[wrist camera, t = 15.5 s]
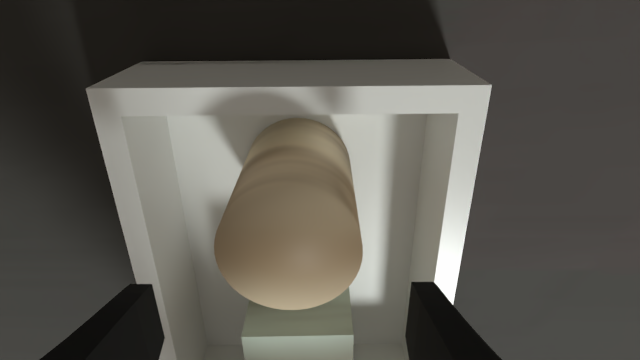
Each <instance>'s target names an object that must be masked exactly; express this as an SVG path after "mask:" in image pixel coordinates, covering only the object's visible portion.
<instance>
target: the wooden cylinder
mask: <svg viewBox="0 0 640 360" xmlns="http://www.w3.org/2000/svg"><path fill="white" fill-rule="evenodd" d="M214 255H215V259H216V263H217V265H218V268H219V270H220V272H221V274H222V275H223V277H224V278H225V280H226V281H227V282H228V284H229V285H230V286H231V287H232V288H233V289H234V290H236V291H237V292H238V293H239V294H241V295H242V296H244V297H245V298H247V299H249V300H251V301H253V302H255V303H257V304H260V305H263V306H266V307H270V308H274V309H281V310H301V309H308V308H312V307H316V306H319V305H322V304H325V303H327V302H329V301H331V300H333V299H334V298H336V297H337V296H339V295H340V294H341V293H343V292H344V291H345V290H346V289H347V288H348V287H349V286H350V285H351V284H352V282H353V281H354V279H355V278H356V276H357V274H358V272H359V270H360V266H361V263H362V257H363V245H362V239H361V232H360V225H359V218H358V212H357V205H356V198H355V192H354V185H353V178H352V171H351V165H350V159H349V154H348V151H347V148H346V146H345V144H344V143H343V141H342V140H341V138H340V137H339V136H338V135H337V134H336V133H335V132H334V131H333V130H332V129H331V128H329V127H327V126H326V125H324V124H322V123H320V122H317V121H314V120H311V119H306V118H290V119H284V120H281V121H278V122H276V123H274V124H272V125H270V126H268V127H267V128H265V129H264V130H263V131H262V132H261V133H260V134H259V135H258V136H257V137H256V139H255V140H254V142H253V144H252V146H251V148H250V151H249V153H248V156H247V158H246V160H245V163H244V165H243V168H242V170H241V173H240V175H239V177H238V180H237V182H236V185H235V187H234V190H233V192H232V195H231V197H230V199H229V202H228V204H227V207H226V209H225V212H224V214H223V216H222V219H221V221H220V224H219V226H218V229H217V231H216V235H215V240H214Z"/></svg>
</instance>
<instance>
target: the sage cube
mask: <svg viewBox="0 0 640 360" xmlns="http://www.w3.org/2000/svg"><path fill="white" fill-rule="evenodd" d="M241 339H242V346H243V353H244V359H245V360H353V344H354V333H353V323H352V313H351V302H350V292H349V287H348V288H347V289H346V290H345V291H344V292H343V293H341V294H340V295H339V296H337V297H336V298H334V299H333V300H331V301H329V302H327V303H325V304H322V305H319V306H316V307H312V308H308V309H301V310H281V309H274V308H270V307H266V306H263V305H260V304H257V303H255V302H253V301H251V300H249V303H248V308H247V313H246V317H245V322H244V327H243V331H242V336H241Z"/></svg>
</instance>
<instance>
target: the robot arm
mask: <svg viewBox="0 0 640 360" xmlns="http://www.w3.org/2000/svg"><path fill="white" fill-rule="evenodd" d="M405 338H406V344H407V350H408V356H409V360H502V359H501V358H500V357H499V356H498V355H497V354H496V353H495V352H494V351H493V350H492V349H491V348H490V347H489V346H488V345H487V344H486V343H485V341H484V340H483V339H482V338H481V337H480V336H479V335H478V334H477V333H476V331H475V330H474V329H473V328H472V327H471V326H470V325H469V324H468V322H467V321H466V320H465V319H464V318H463V317H462V315H461V314H460V313H459V312H458V311H457V309H456V308H455V307H454V306H453V305H452V303H451V302H450V301H449V300H448V298H447V297H446V296H445V295H444V293H443V292H442V291H441V290H440V288H439V287H438V286H437V285H436V284H435V283H434V282H411V290H410V298H409V307H408V316H407V325H406V333H405ZM164 339H165V336H164V332H163V328H162V324H161V320H160V315H159V311H158V307H157V303H156V299H155V295H154V290H153V286H152V284H130V285H128V286H127V287H126V288H125V289H124V290H122V291H121V292H120V293H119V294H118V295H116V296H115V297H114V298H113V299H112V300H111V301H109V302H108V303H107V304H106V305H105V306H104V307H103V308H101V309H100V310H99V311H98V312H97V313H96V314H95V315H93V316H92V317H91V318H90V319H89V320H88V321H86V322H85V323H84V324H83V325H82V326H80V327H79V328H78V329H77V330H76V331H75V332H73V333H72V334H71V335H70V336H69V337H67V338H66V339H65V340H64V341H63V342H61V343H60V344H59V345H58V346H56V347H55V348H54V349H52V350H51V351H50V352H49V353H47V354H46V355H45V356H44V357H42V358H41V359H40V360H159V357H160V354H161V350H162V346H163V343H164Z"/></svg>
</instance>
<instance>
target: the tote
mask: <svg viewBox="0 0 640 360" xmlns="http://www.w3.org/2000/svg"><path fill="white" fill-rule="evenodd" d="M491 87H492V85H491V84H489V83H488V82H486V81H485V80H483V79H481V78H480V77H478V76H477V75H475V74H473V73H472V72H470V71H469V70H467V69H466V68H464V67H462V66H461V65H459V64H458V63H456V62H454V61H453V60H451V59H386V60H271V61H156V62H140V63H138V64H135V65H133V66H131V67H129V68H127V69H125V70H123V71H121V72H119V73H117V74H115V75H113V76H111V77H108V78H106V79H104V80H102V81H100V82H98V83H96V84H94V85H92V86H90V87H88V88H86V92H87V96H88V100H89V104H90V108H91V111H92V115H93V119H94V123H95V127H96V131H97V134H98V138H99V142H100V146H101V150H102V154H103V157H104V161H105V165H106V169H107V173H108V176H109V180H110V184H111V188H112V192H113V196H114V199H115V203H116V207H117V211H118V215H119V219H120V222H121V226H122V230H123V234H124V238H125V242H126V245H127V249H128V253H129V257H130V261H131V265H132V268H133V272H134V276H135V280H136V284H152V286H153V290H154V295H155V299H156V303H157V307H158V311H159V315H160V320H161V324H162V328H163V332H164V336H165V339H164V343H163V346H162V350H161V354H160V357H159V360H245V359H244V353H243V346H242V339H241V336H242V331H243V327H244V322H245V317H246V313H247V308H248V303H249V299H247V298H245V297H244V296H242V295H241V294H239V293H238V292H237V291H236V290H234V289H233V288H232V287H231V286H230V285H229V284H228V282H227V281H226V280H225V278H224V277H223V275H222V274H221V272H220V270H219V268H218V265H217V263H216V259H215V255H214V240H215V235H216V231H217V229H218V226H219V224H220V221H221V219H222V216H223V214H224V212H225V209H226V207H227V204H228V202H229V199H230V197H231V195H232V192H233V190H234V187H235V185H236V182H237V180H238V177H239V175H240V173H241V170H242V168H243V165H244V163H245V160H246V158H247V156H248V153H249V151H250V148H251V146H252V144H253V142H254V140H255V139H256V137H257V136H258V135H259V134H260V133H261V132H262V131H263V130H264V129H265V128H267V127H268V126H270V125H272V124H274V123H276V122H278V121H281V120H284V119H290V118H306V119H311V120H314V121H317V122H320V123H322V124H324V125H326V126H327V127H329V128H331V129H332V130H333V131H334V132H335V133H336V134H337V135H338V136H339V137H340V138H341V140H342V141H343V143H344V144H345V146H346V148H347V151H348V154H349V159H350V165H351V171H352V178H353V185H354V192H355V198H356V205H357V212H358V218H359V225H360V232H361V239H362V245H363V257H362V263H361V266H360V270H359V272H358V274H357V276H356V278H355V279H354V281H353V282H352V284H351V285H350V286H349V292H350V302H351V313H352V323H353V333H354V344H353V360H409V356H408V350H407V344H406V338H405V333H406V325H407V316H408V307H409V298H410V290H411V282H434V283H435V284H436V285H437V286H438V287H439V288H440V290H441V291H442V292H443V293H444V295H445V296H446V297H447V298H448V300H449V301H450V302H451V303H452V305H453V302H454V296H455V291H456V285H457V279H458V274H459V268H460V262H461V257H462V251H463V245H464V240H465V234H466V228H467V223H468V217H469V211H470V206H471V200H472V195H473V189H474V183H475V178H476V172H477V166H478V161H479V155H480V149H481V144H482V138H483V132H484V127H485V121H486V115H487V110H488V104H489V98H490V93H491Z"/></svg>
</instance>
